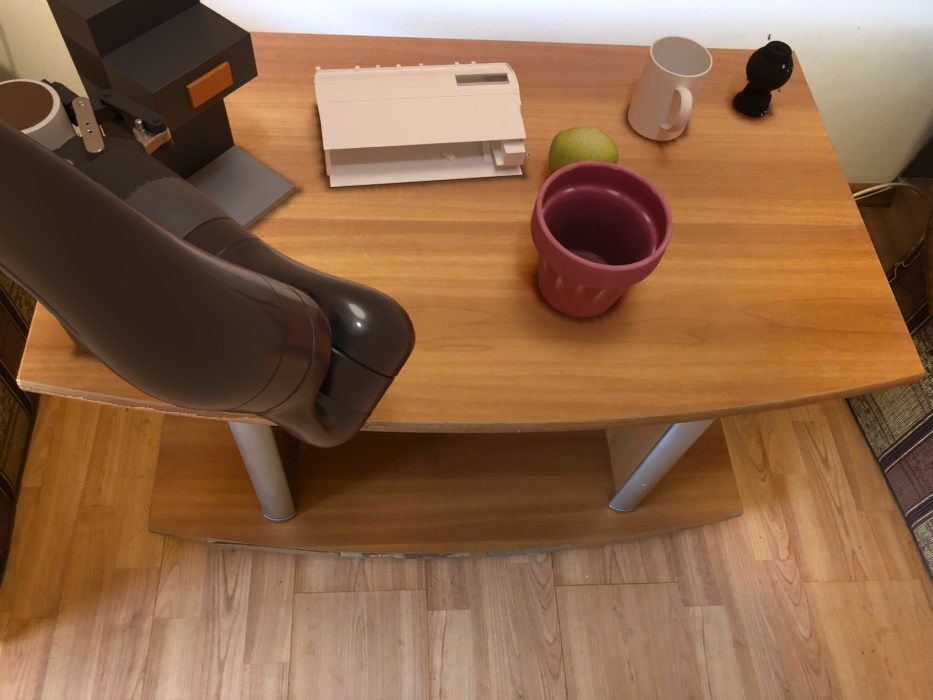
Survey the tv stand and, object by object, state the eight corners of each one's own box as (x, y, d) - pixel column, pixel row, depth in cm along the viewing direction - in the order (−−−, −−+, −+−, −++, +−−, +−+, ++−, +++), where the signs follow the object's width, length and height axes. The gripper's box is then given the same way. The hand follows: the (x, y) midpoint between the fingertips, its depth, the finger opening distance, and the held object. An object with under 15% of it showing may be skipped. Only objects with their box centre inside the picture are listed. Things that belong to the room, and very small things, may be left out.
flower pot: (642, 344, 81) (681, 274, 70) (516, 333, 81) (535, 260, 70) (633, 243, 89) (667, 166, 78) (517, 232, 88) (535, 152, 77)
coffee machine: (295, 191, 88) (266, 9, 68) (219, 250, 83) (163, 71, 62) (202, 127, 92) (148, -63, 72) (123, 180, 87) (41, -10, 66)
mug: (624, 99, 102) (646, 32, 93) (679, 104, 103) (707, 37, 94) (633, 163, 96) (658, 98, 87) (692, 167, 96) (723, 103, 87)
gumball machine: (779, 121, 103) (815, 60, 94) (743, 129, 101) (776, 67, 93) (754, 90, 106) (786, 28, 97) (719, 97, 104) (748, 34, 96)
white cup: (8, 215, 59) (-50, 126, 51) (43, 162, 62) (-7, 71, 54) (83, 228, 59) (35, 141, 51) (113, 174, 62) (73, 85, 54)
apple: (605, 217, 91) (623, 169, 84) (535, 194, 91) (547, 145, 85) (619, 174, 95) (637, 126, 88) (552, 153, 95) (564, 103, 89)
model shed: (324, 187, 89) (319, 144, 83) (315, 104, 96) (310, 59, 90) (524, 174, 93) (534, 132, 87) (502, 96, 100) (509, 52, 94)
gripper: (227, 132, 51) (68, 23, 55) (46, 256, 44) (-119, 122, 48) (246, 206, 57) (102, 104, 61) (89, 325, 50) (-60, 201, 55)
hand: (5, 112), depth 55 cm, fingers closed on white cup, 6 cm apart
